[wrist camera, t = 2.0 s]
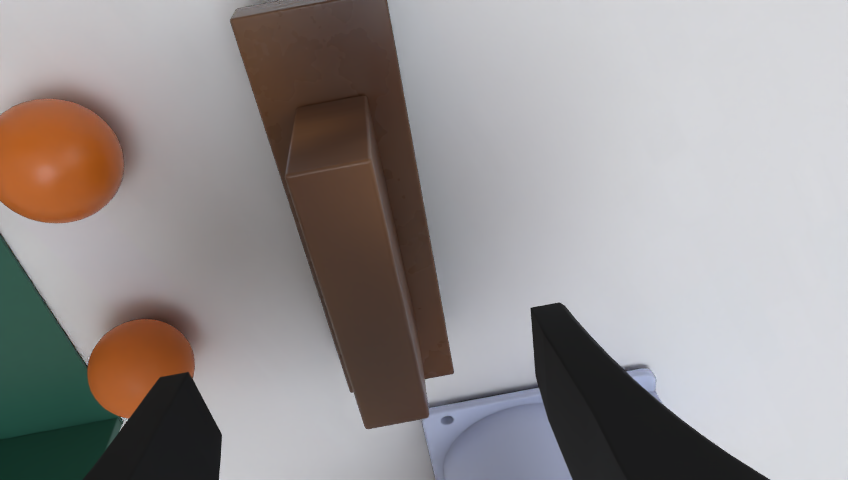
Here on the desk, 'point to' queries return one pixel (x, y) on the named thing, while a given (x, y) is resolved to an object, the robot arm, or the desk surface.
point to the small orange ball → (57, 161)
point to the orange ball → (136, 363)
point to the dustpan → (43, 390)
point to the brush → (352, 190)
